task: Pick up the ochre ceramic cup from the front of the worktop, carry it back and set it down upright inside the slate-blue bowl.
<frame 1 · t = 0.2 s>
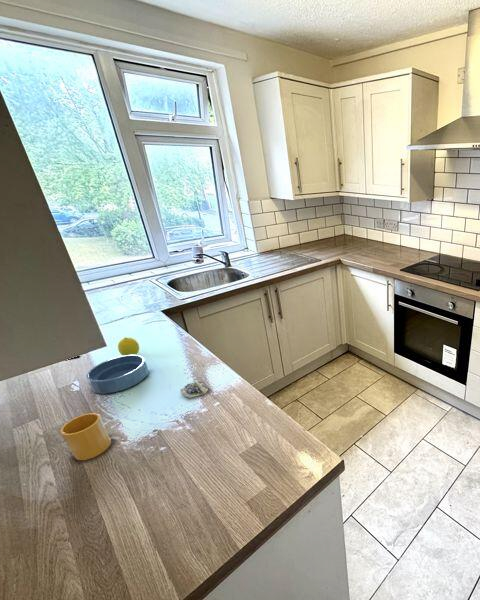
hand: (80, 346, 66), 30 cm above the countertop, tool pointing down, fingers open, 9 cm apart
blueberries: (195, 391, 99), on the countertop
bowl: (122, 380, 104), on the countertop
lemon: (132, 357, 116), on the countertop
cup: (93, 448, 80), on the countertop
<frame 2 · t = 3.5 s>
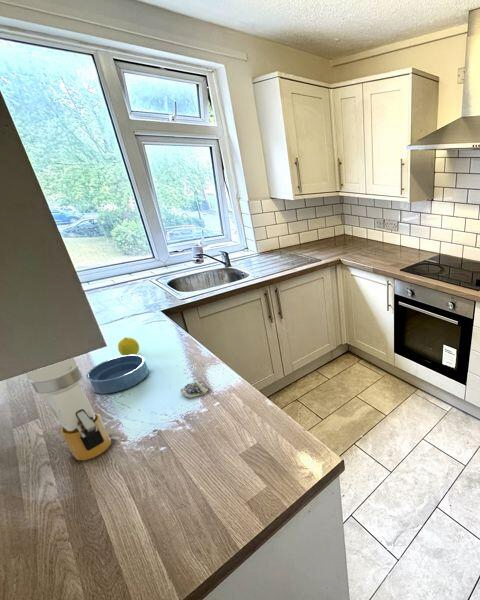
hand: (88, 438, 78), 3 cm above the countertop, tool pointing down, fingers closed on cup, 6 cm apart
cup: (93, 448, 80), on the countertop, touching gripper
everything else where it was.
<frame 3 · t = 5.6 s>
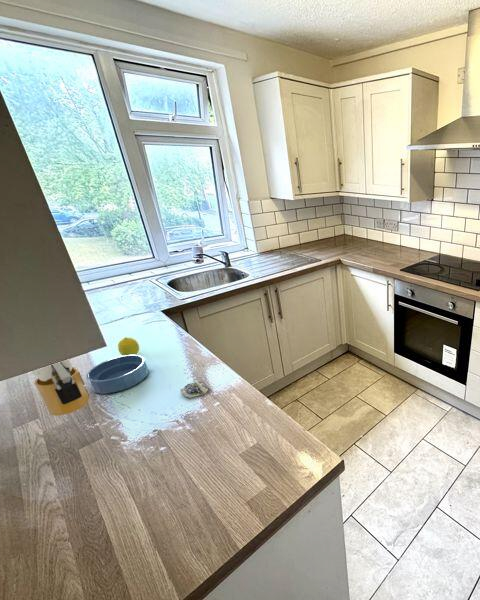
hand: (65, 393, 73), 16 cm above the countertop, tool pointing down, fingers closed on cup, 6 cm apart
cup: (70, 404, 75), point 13 cm above the countertop, touching gripper
everything else where it was.
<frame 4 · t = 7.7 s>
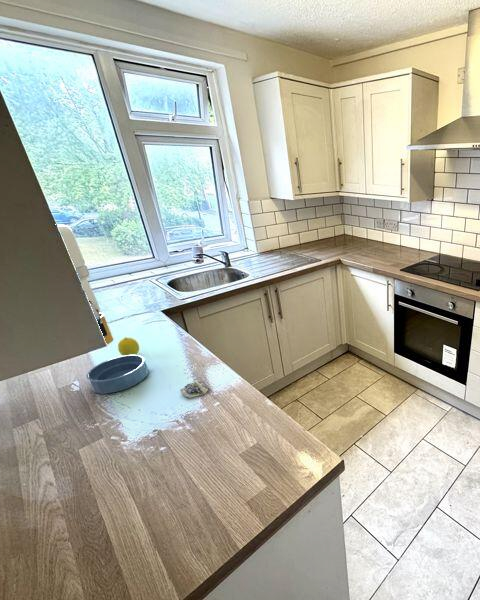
hand: (94, 333, 92), 20 cm above the countertop, tool pointing down, fingers closed on cup, 6 cm apart
cup: (98, 342, 93), point 16 cm above the countertop, touching gripper
everything else where it was.
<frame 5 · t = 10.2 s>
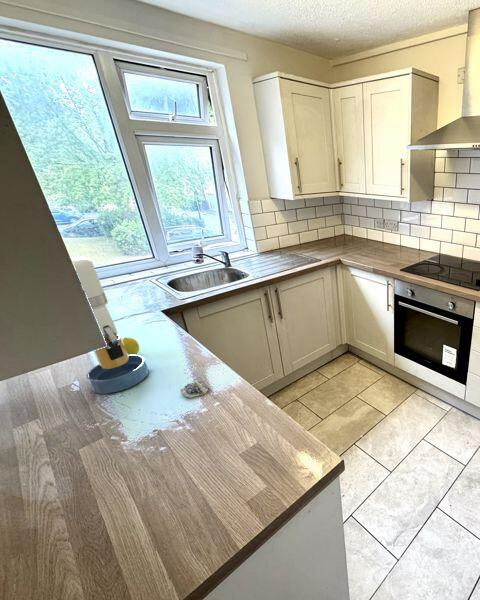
hand: (111, 353, 100), 10 cm above the countertop, tool pointing down, fingers closed on cup, 6 cm apart
cup: (115, 362, 101), point 7 cm above the countertop, touching gripper
everything else where it was.
when the fingers open (4 cm above the countertop, at t = 12.2 s): cup stays where it is, resting on bowl.
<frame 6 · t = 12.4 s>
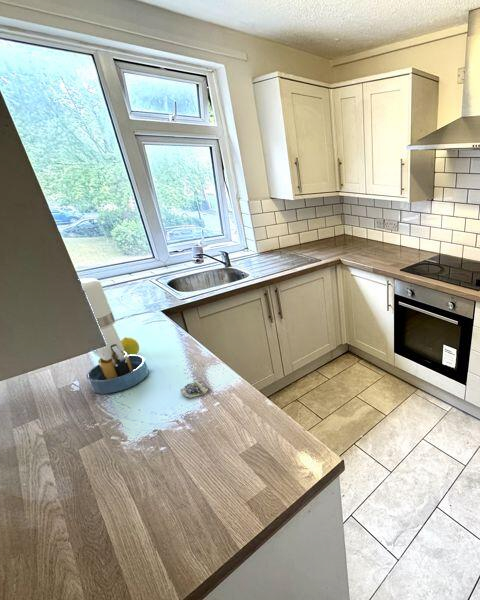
hand: (117, 370, 102), 4 cm above the countertop, tool pointing down, fingers open, 7 cm apart
cup: (121, 378, 104), point 1 cm above the countertop, touching bowl
everything else where it was.
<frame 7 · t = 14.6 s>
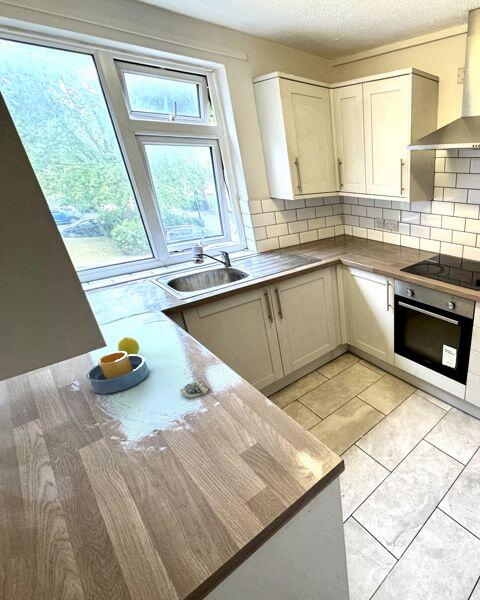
nothing on the countertop moved.
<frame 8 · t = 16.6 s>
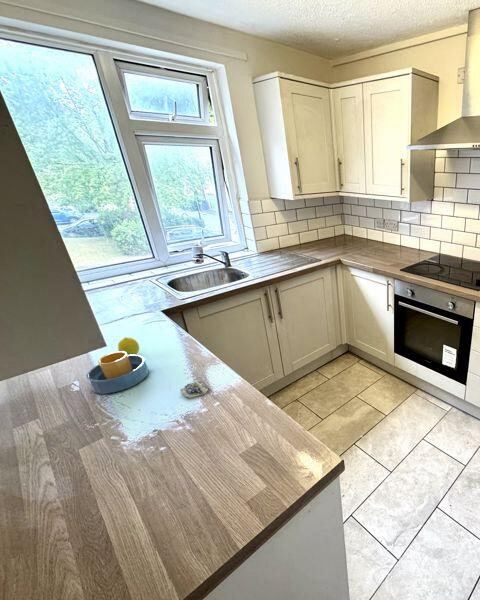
nothing on the countertop moved.
at the end: cup 0.1 cm off-centre in the bowl, point 0.6 cm above the bowl's base; cup tilted 0°; the gripper is holding nothing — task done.
